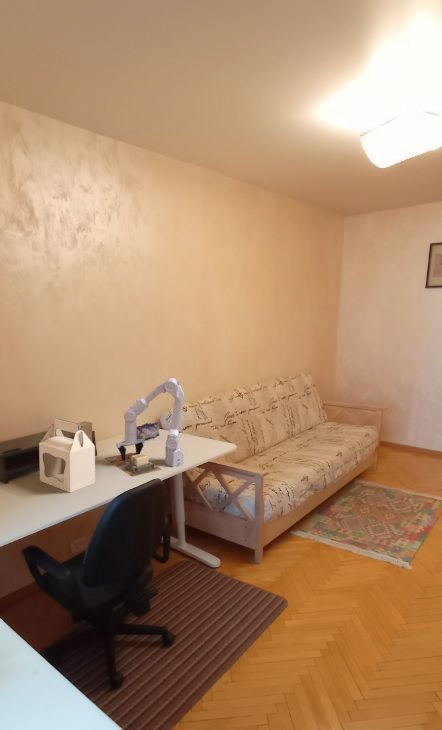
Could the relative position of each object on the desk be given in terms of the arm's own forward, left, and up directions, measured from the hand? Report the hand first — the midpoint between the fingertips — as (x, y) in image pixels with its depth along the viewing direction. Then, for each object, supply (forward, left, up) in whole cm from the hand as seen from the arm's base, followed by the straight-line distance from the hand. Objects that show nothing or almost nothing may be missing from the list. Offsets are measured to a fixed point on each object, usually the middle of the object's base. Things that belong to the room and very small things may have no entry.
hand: (130, 459), depth 210 cm
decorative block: (+18, +19, -3) cm, 26 cm away
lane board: (-1, 0, -3) cm, 3 cm away
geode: (+40, -30, -3) cm, 50 cm away
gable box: (-4, +33, -3) cm, 33 cm away
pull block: (-5, 0, -2) cm, 5 cm away
